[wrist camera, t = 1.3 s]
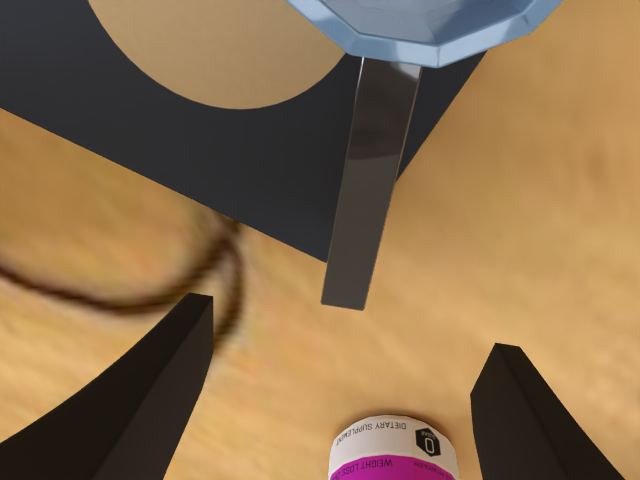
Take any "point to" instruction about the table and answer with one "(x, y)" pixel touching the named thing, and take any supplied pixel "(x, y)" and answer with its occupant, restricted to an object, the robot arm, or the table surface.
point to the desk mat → (205, 100)
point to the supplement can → (392, 451)
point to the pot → (395, 104)
